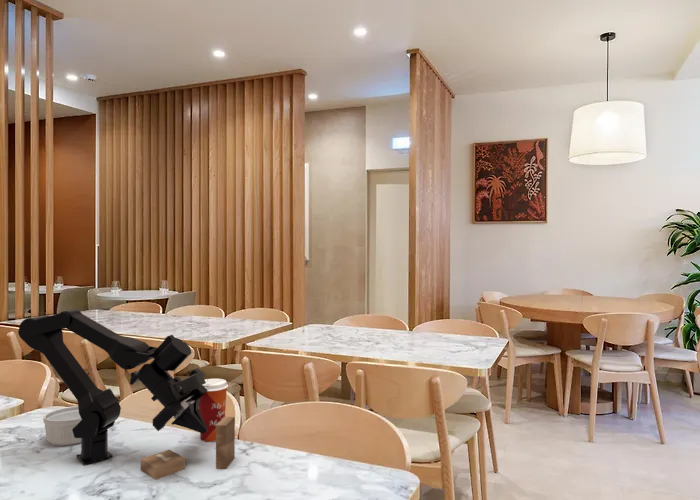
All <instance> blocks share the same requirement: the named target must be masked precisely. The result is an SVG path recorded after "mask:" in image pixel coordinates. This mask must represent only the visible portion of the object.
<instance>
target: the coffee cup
mask: <svg viewBox="0 0 700 500" xmlns="http://www.w3.org/2000/svg"><path fill="white" fill-rule="evenodd" d="M205 382H206V383H205V384H202V385H203V386H204V387H205V388H206V389H207V392H206V393H205V394H204V395H203V396H202V397H201V398H200V401H199V411H200V414H201V416H202V418H203V420H204V423H205V425H206V427H207V429H208V430H207V431H206V432H205V433H204V434H203V433H200V432H199V435H200V440H201V441H202V442H205V443H206V442H207V443H209V442H211V443H213V442H216V425H217V424H218V423H219V422H220V421H221V420H222V419H223V418H224V417H226V406H227V388H228V387H229V385H228V383H227V380H226V379H223V378H206V379H205Z"/></svg>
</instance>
